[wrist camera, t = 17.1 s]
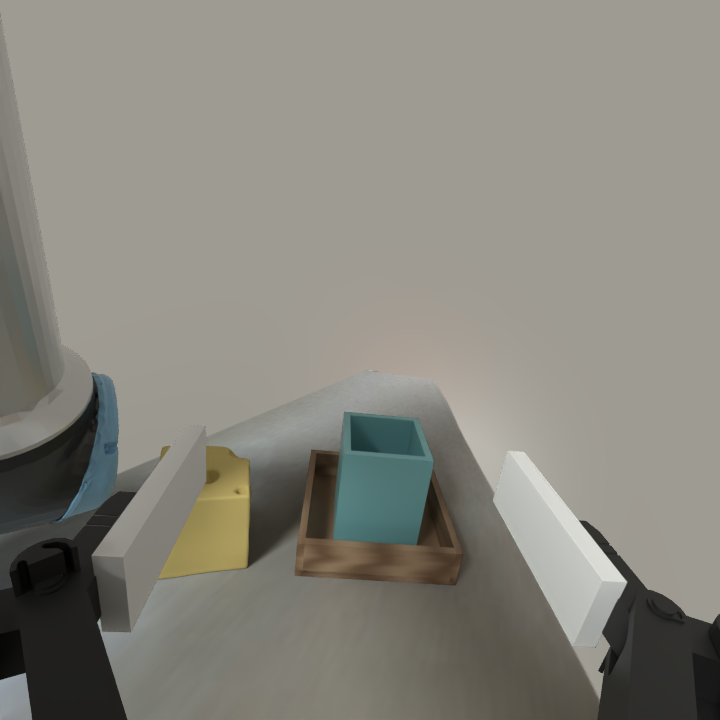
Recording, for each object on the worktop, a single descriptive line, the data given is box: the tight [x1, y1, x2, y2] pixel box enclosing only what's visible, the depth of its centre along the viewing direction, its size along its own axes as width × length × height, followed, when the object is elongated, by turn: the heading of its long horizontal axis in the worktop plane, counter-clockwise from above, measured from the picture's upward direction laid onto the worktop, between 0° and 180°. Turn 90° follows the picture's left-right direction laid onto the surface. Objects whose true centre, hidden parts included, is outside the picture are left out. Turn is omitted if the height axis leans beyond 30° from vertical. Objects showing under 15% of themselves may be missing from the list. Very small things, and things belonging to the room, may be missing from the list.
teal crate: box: [333, 412, 434, 545], centre depth 49 cm, size 10×10×12 cm
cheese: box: [158, 446, 251, 579], centre depth 44 cm, size 10×11×10 cm
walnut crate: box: [295, 450, 463, 585], centre depth 51 cm, size 18×18×4 cm
